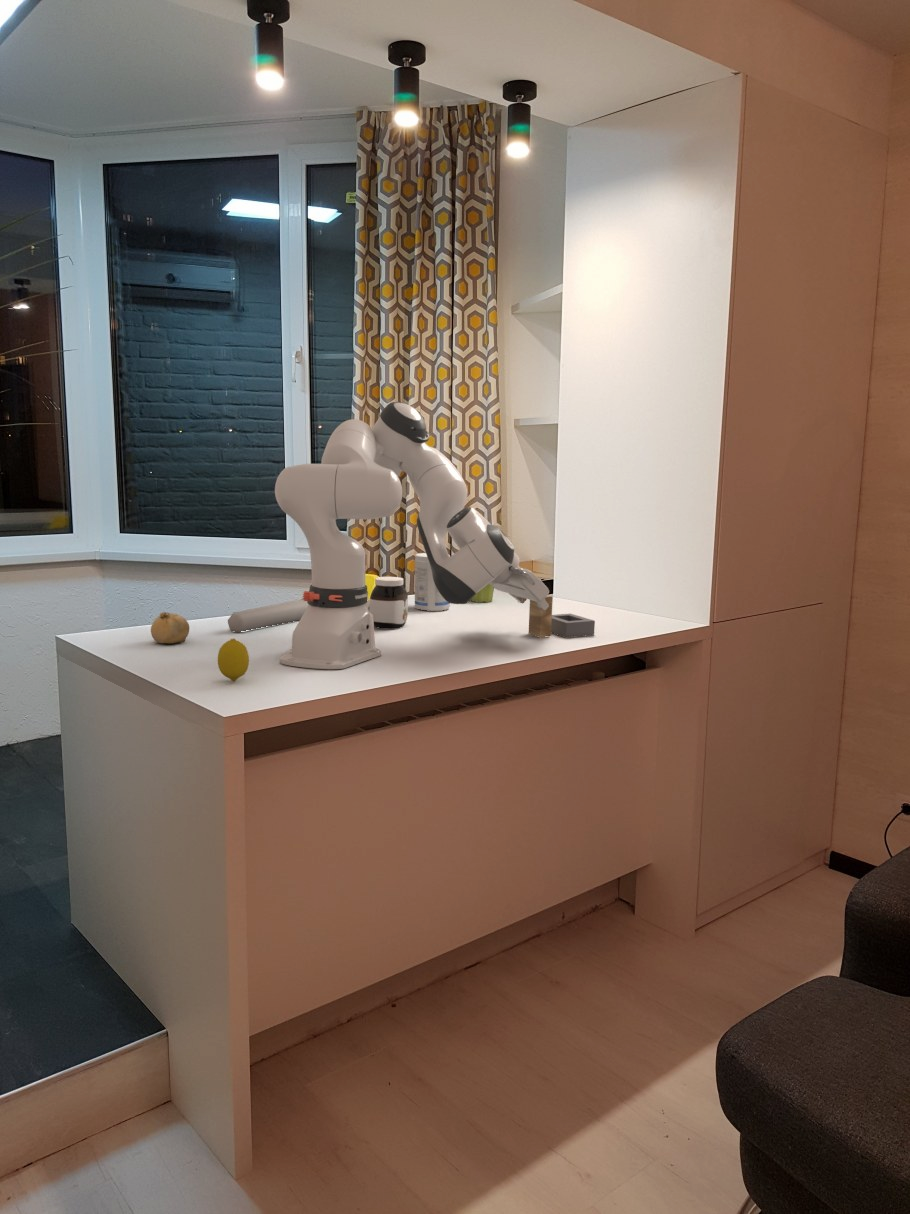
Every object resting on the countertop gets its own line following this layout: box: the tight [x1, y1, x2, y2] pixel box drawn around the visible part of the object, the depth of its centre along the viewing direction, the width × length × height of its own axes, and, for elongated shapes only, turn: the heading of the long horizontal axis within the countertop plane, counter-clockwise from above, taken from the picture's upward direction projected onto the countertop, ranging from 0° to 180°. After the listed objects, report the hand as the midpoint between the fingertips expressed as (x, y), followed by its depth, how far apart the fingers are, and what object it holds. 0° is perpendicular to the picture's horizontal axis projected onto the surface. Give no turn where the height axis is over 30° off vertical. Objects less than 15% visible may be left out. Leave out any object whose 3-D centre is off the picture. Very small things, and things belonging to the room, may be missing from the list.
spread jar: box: [366, 576, 409, 629], centre depth 222 cm, size 12×11×12 cm
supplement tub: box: [414, 552, 451, 612], centre depth 245 cm, size 10×10×15 cm
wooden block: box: [528, 594, 554, 638], centre depth 214 cm, size 3×5×10 cm, turn 28°
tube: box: [227, 597, 308, 633], centre depth 219 cm, size 5×5×25 cm
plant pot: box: [470, 584, 495, 603], centre depth 260 cm, size 9×9×9 cm
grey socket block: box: [551, 613, 596, 638], centre depth 219 cm, size 8×10×4 cm
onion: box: [150, 611, 190, 644], centre depth 197 cm, size 8×8×7 cm
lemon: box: [217, 638, 250, 682], centre depth 166 cm, size 6×6×8 cm
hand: (534, 604), depth 214 cm, fingers open, 8 cm apart
